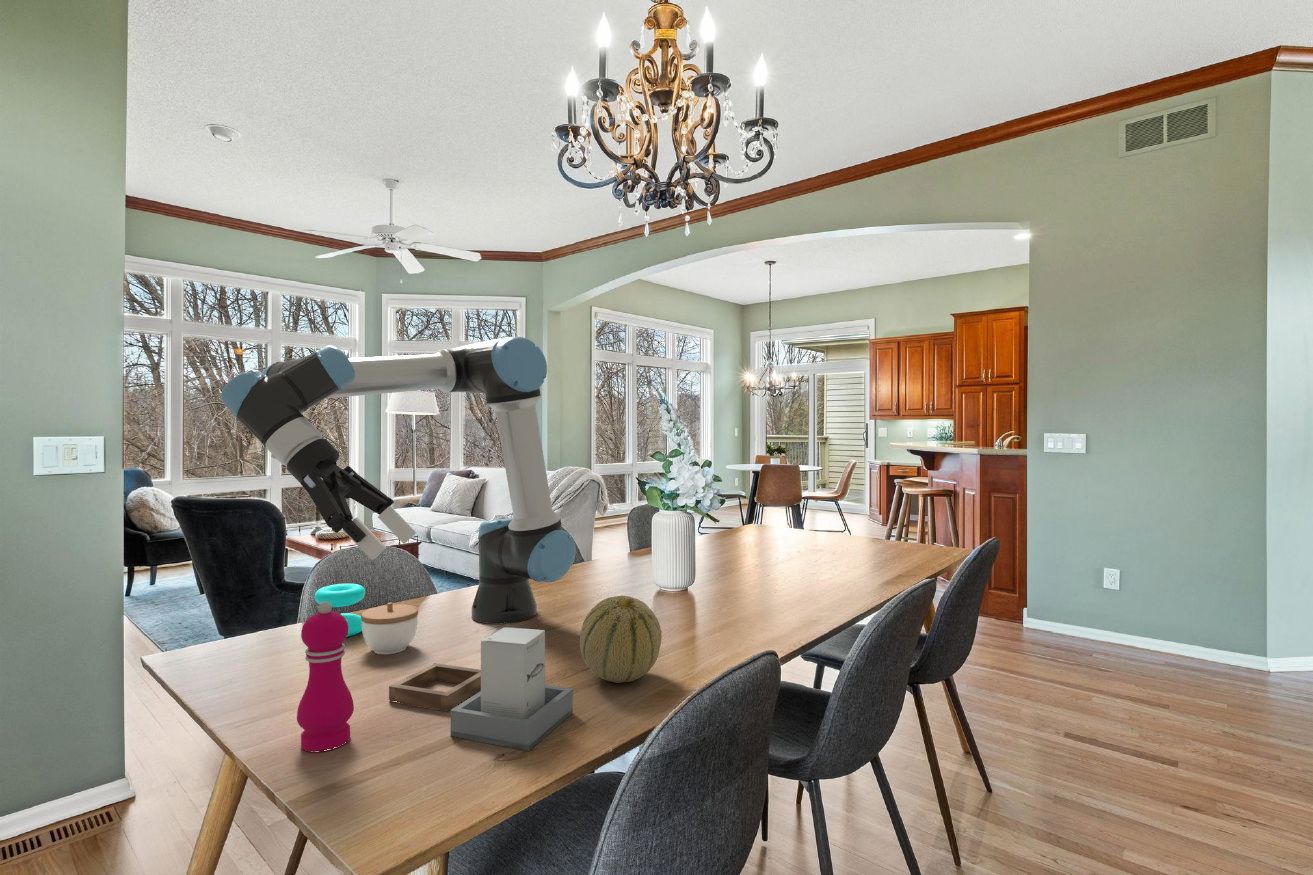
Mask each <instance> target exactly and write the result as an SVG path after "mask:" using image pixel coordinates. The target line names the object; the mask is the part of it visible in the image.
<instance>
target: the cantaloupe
mask: <svg viewBox="0 0 1313 875" xmlns="http://www.w3.org/2000/svg"><path fill="white" fill-rule="evenodd" d="M662 638H663V637H662V627H661V624H660V622H659V619H658V618H657V617H656V614H655V612H654V611H653V610H652V609H651V608H650V607H649V606H648V605H647V604H646V603H645V602H644V601H642V600H640V599H639V598H636V597H633V596H629V595H617V596H615V595H614V596H609V597H607V598H604V599H603V600H601V601H599V602H598V603H596V604H595V606H593V607H591V609H590V611H589V612H588V613H587V614H586V616H585V618H584V620H583V623H582V626H581V630H580V634H579V648H580V649H579V650H580V653H581V656H582V659H583V661H584V662H585V664H586V665H587V667H588V668H589V669H590V671H591V672H592V673H593V674H595V675H596V677H598V678H600V679H602V680H604V681H607V682H613V683H618V684H622V683H630V682H633V681H636V680H638V679H640V678H641V677H643V676H645V675H646V674H647V673H649V671H650V670H651V669H652V668H653V667H654V665H655V664H656V662H657V660H658V658H659V653H660V648H661V644H662Z"/></svg>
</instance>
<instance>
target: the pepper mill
mask: <svg viewBox="0 0 1313 875" xmlns="http://www.w3.org/2000/svg"><path fill="white" fill-rule="evenodd" d="M332 608H333V607H332V605H331V603H329V602H322V603H321V604H318V606H317V609H318V612H317V613H316V614H313V615H312V616H310V617H309V618H308V619H306V620H305V622H304V623H303V625H302V628H301V630H300V631H301V632H300V633H301V635H300V638H301V640H302V643H303V644H304V645H306V647H307V648H306V649H305V651H304V653H305V658H304V659H305V661H306V662H308V664H309V665H308V666H309V667H308V668H309V670H308V671H309V672H308V674H309V675H308V681H307V685H306V687H305V689H304V692H303V695H302V696H301V699H300V701H299V704H298V707H297V713H296V722H297V724H298V726H299V727H300V728H301V729H303V731H302V732H301V734H300V748H301V747H302V748H301V749H302V750H303V749H304V750H306V751H305V752H307V751H324V750H327V749H333V748H334V747H338V746H340V745H342V744H344V743H345V742H347V741H348V740H349V741H350V739H351V725H350V724H349V723H348V721H349V720H350V718H351V717H353V716H352V715H353V713H354V709H355V705H354V700H353V697H352V693H351V691H350V690H349V687H348V686H347V683H346V681H345V679H344V676H343V670H342V660H343V657H344V656H345V655H346V652H345V648H346V645H345V644H344V641H345V640H346V639H347V638H348V637H347V635H348V630H349V629H348V623H347V620H346V619H345V617H344V616H343V615H341V614H342V613H339V612H336V611H332V610H333V609H332ZM349 741H348V742H349ZM348 742H347V743H348ZM344 745H345V744H344ZM304 750H303V751H304ZM333 750H334V749H333Z"/></svg>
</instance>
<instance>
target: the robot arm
mask: <svg viewBox="0 0 1313 875" xmlns="http://www.w3.org/2000/svg"><path fill="white" fill-rule="evenodd" d="M547 364H548V363H547V360H546V357H545V355H544V352H543V351H542V350H541V348H540V347H539V346H538V345H537V344H536V343H535V342H534V341H532V340H531V339H529V338H526V337H522V336H506V337H501V338H495V339H490V340H484V341H483V340H482V341H478V342H474V343H470V344H466V345H462V346H458V347H453V348H452V347H451V348H440V349H437V350H436V351H435V352H434V353H429V354H428V353H427V354H411V355H409V354H407V355H391V356H390V355H388V356H371V357H370V356H366V357H350V358H349V357H348V356H347V355H346V354H345V353H344V352H343V351H342V350H341V349H339V348H338V347H336V346H335V345H326V346H324V347H322V348H320V349H317V350H316V349H315V350H314V352H312V353H311V354H308V355H306V356H304V357H299V358H294V359H290V360H285V361H276V362H274V363H272V364H270V365H269V366H267V367H266V368H264V370H263V372H261V371H259V370H258V369H250V370H248V371H244V372H241V373H239V374H237V375H236V376H234V377H233V378H232V379H230V380H229V381H228V382H227V383H226V384H225V385H224V387H223V388H222V390H221V393H220V401H222V403H223V404H224V406H225V407H226V408H227V409H228V411H230V413H231V414H232V416H234V417H235V419H236V420H237V421H239V423H241V424H242V425H243V426H244V427H245V428H246V429H247V431H249V432H250V433H251V434H252V435H253V436H254V437H255V438H256V439H257V440H258V441H259V442H260V443H261V444H262V445H263V446H264V447H265V448H266V449H267V451H269V453H270V454H271V455H270V456H271V458H272V459H276V460H277V461H278V462H279V463H280V464H281V465H283V466H284V465H285V466H286V470H287V472H289V473H290V474H291V476H292V477H294V479H296V481H298V482H299V484H300V485H301V486H302V488H303V489H304V490H305V491H306V492H307V493H308V494H309V496H310V498H311V500H312V502H313V503H314V505H315V507H316V508H317V510H318V512H319V513H320V516H322V518H323V521H324V522H325V524H326V526H327V527H328V528H330V529H331V531H333V532H334V533H336V534H339V532H340V531H341V530H342V531H343V533H345V534H346V535H347V537H349V538H350V540H351V541H352V542H354V543H355V545H356V546H357V547H358V548H359V549H360V551H362V552H363V553H364V554H365V555H366V556H367V557H368V558H369V559H370V560H371V561H374V560H375V559H376V558H377V557H378V556H380V555H381V554H382V553H383V552H384V551H385V550H386V549H387V548H388V547H387V546H386V545H385V544H384V543H383V542H382V541H381V540H380V538H379V537H377V536H376V535H375V533H374V532H372V531H371V529H370V528H368V526H366V524H364V523H363V521H362V520H361V519H360V518H359V517H358V516H357V517H355V518H354V517H353V514H352V512H351V509H350V507H349V504H348V501H347V499H352V500H353V501H355V502H356V503H358V504H360V505H361V506H363V507H366V508H367V509H369V510H371V511H372V512H373V513H376V514H377V515H378V516H377V519H379V520H380V521H381V523H383V524H384V525H385V526H386V527H387V528H388V529H389V530H390V531H391V532H392V534H394V536H395V537H397V539H398V540H399V541H400V542H401V543H402V544H403V545H405V544H406V543H407V542H408V541H409V540H410V539H411V538H413V537H414V536H415V535H416V534H417V532H416V530H415V529H414V528H413V527H412V526H411V525H410V524H409V523H408V522H407V521H406V520H405V519H404V518H403V517H402V516H401V514H399V513H398V512H397V510H395V509H394V508H393V507H392V505H394V503H395V501H394V499H392V498H391V497H389V496H388V495H387V494H385V493H384V492H383V491H381V490H380V489H379V488H377V486H374V485H373V484H372V483H370V482H369V481H368V480H366V479H365V478H363V477H362V476H361V475H360V474H358V472H357V471H355V470H354V469H353V468H352V467H351V466H350V465H346V467H344V468H341V467H340V466H339V465H337V462H338V460H339V459H340V452H339V451H338V450H337V448H335V447H334V446H333V444H331V442H329V441H328V439H327V438H323V434H322V433H321V431H319V430H318V428H317V427H315V426H314V425H313V423H311V422H310V421H309V420H308V419H307V418H306V417H305V415H304V414H302V413H304V412H307V410H309V409H311V408H313V407H314V406H316V405H317V404H318V403H320V402H322V401H324V400H325V399H335V398H337V399H338V398H344V397H345V398H346V397H357V396H359V397H360V396H369V395H370V396H371V395H380V394H382V395H383V394H392V393H393V394H394V393H404V392H417V391H427V390H439V392H442V393H445V394H446V393H447V394H448V393H472V394H483V395H485V396H484V397H485V403H486V405H487V407H489V408H491V409H492V410H494V412H495V416H496V421H497V427H498V428H497V429H498V435H499V439H500V446H501V453H502V457H503V463H504V468H505V469H504V470H505V474H506V480H507V485H508V491H509V492H508V493H509V497H510V498H509V499H510V504H511V509H512V510H511V511H512V516H513V517H512V518H510V517H509V518H501V519H500V518H499V519H491V520H484V521H482V522H481V523H480V525H479V529H478V537H477V540H478V576H479V578H478V587H477V590H476V594H475V597H474V599H473V602H472V606H471V619H472V620H473V621H476V622H480V623H483V624H496V625H497V624H511V623H518V622H519V623H520V622H523V621H525V620H530V619H532V618H534V617H535V616H536V615H537V612H538V610H537V608H538V607H537V605H538V604H537V601H536V599H535V596H534V593H533V590H532V586H531V583H530V580H533V581H534V582H538V583H554V582H556V581H559V580H561V579H562V578H564V576H566V575H567V573H568V572H569V570H570V569H571V567H572V566H573V564H574V561H575V559H576V553H577V552H576V548H577V546H576V542H575V540H574V538H573V536H572V535H571V534H569V533H568V532H567V531H566V530H563V524H562V520H561V515H560V514H558V513H557V512H555V511H554V510H553V506H552V499H551V494H550V487H549V481H548V474H547V468H546V463H545V455H544V451H543V445H542V438H541V432H540V426H539V421H538V420H539V419H538V414H537V408H536V407H537V406H536V404H537V403H538V401H539V400H540V399H541V398H542V397H541V396H542V395H541V394H542V393H541V388H540V387H541V386H542V385H543V384H544V383H545V379H546V378H547V373H548V365H547Z"/></svg>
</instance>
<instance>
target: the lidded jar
mask: <svg viewBox="0 0 1313 875" xmlns="http://www.w3.org/2000/svg"><path fill="white" fill-rule="evenodd" d="M418 615H419V608H418V607H416V606H414V605H411V604H401V603H400V604H399V603H398V604H394V603H393V602H387V603H386V605H380V606H376V607H371V608H369V609H366V610H364V611H362V612H361V614H360V616H361V620H362V631H361V632H362V636H363V640H364V642H365V644H366V645H367V647H369V648H370V649H371V650H372V651H373V652H375V654H376V653H377V655H393V654H398V653H401V652H404V651H405V650H406V649H407V646H409V645H410V644H411V642H412V641H413V640H414V639H415V636H416V633H417V629H418V621H419V620H418V619H419V617H418ZM397 652H398V653H397Z"/></svg>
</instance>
